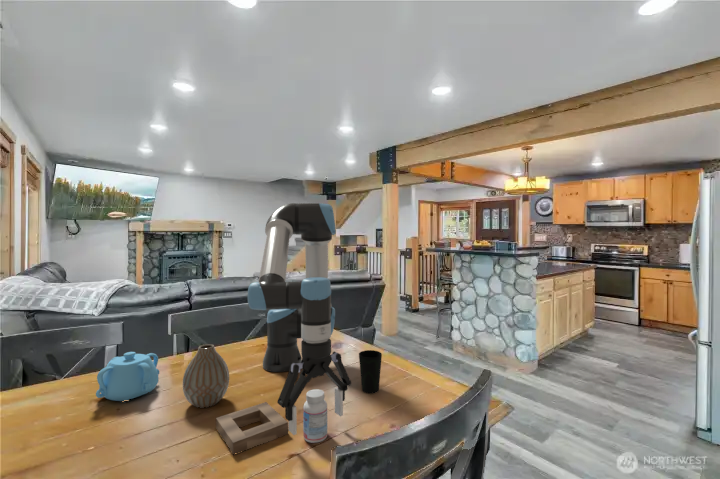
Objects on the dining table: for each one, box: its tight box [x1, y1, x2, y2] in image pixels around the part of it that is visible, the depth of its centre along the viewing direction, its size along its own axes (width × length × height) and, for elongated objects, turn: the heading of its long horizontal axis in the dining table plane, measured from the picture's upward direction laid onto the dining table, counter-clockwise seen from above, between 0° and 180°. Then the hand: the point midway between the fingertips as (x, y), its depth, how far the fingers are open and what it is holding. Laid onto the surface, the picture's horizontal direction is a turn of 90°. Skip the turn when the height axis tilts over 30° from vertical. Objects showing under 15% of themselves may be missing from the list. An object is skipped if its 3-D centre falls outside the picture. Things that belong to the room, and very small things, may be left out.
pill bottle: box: [302, 388, 328, 444], centre depth 87 cm, size 6×6×11 cm
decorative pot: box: [95, 351, 160, 402], centre depth 111 cm, size 16×16×14 cm
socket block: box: [215, 401, 289, 455], centre depth 89 cm, size 14×14×3 cm
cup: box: [358, 349, 383, 395], centre depth 113 cm, size 8×8×12 cm
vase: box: [182, 343, 230, 409], centre depth 105 cm, size 13×13×18 cm
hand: (316, 422), depth 86 cm, fingers open, 13 cm apart
